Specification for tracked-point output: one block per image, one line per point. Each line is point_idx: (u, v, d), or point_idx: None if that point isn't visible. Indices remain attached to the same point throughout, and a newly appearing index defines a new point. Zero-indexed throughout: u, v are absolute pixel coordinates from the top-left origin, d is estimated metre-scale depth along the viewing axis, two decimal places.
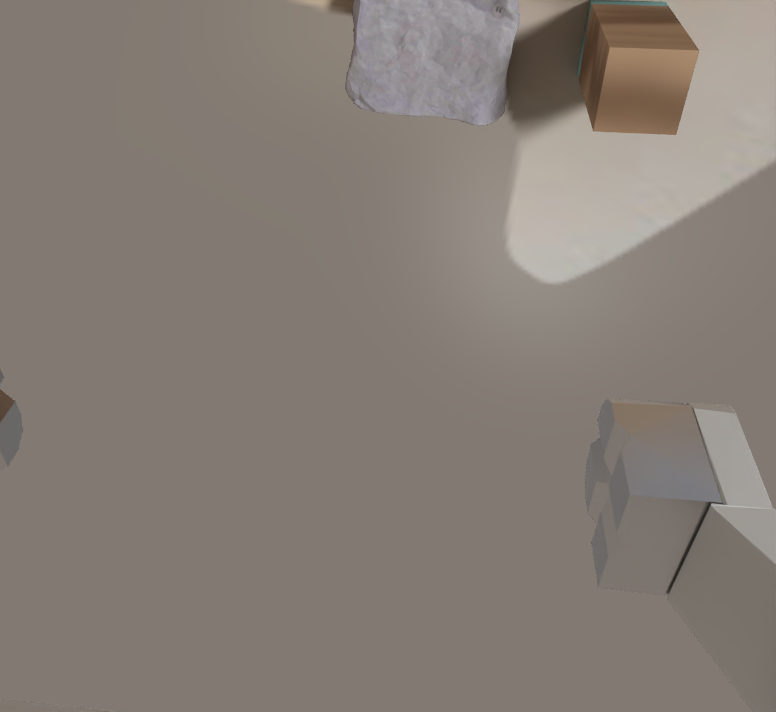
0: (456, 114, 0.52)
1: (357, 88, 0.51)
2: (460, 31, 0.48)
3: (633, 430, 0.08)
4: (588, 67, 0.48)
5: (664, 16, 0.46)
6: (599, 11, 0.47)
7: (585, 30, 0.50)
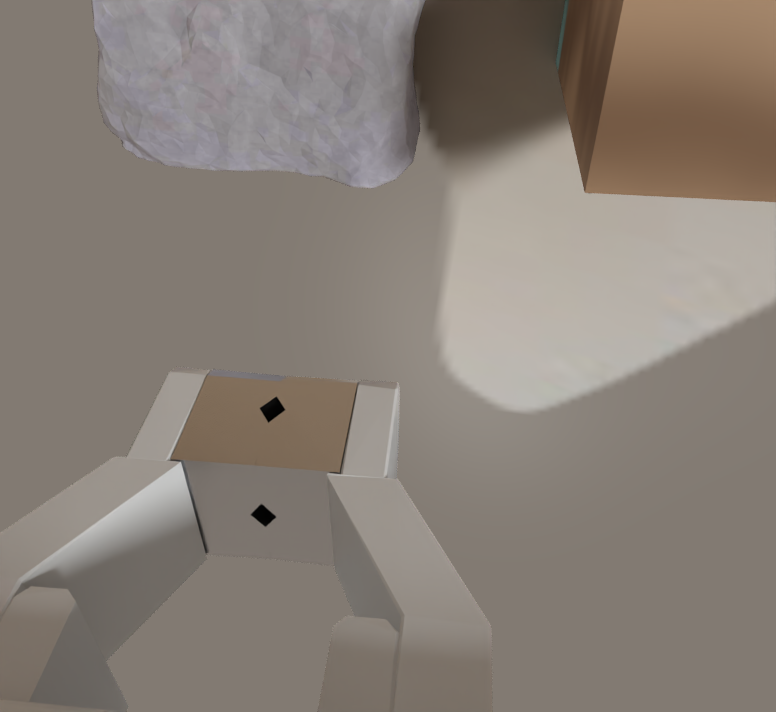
0: (319, 167, 0.27)
1: (119, 121, 0.26)
2: (304, 6, 0.23)
3: (291, 405, 0.09)
4: (575, 46, 0.22)
5: None
6: None
7: None
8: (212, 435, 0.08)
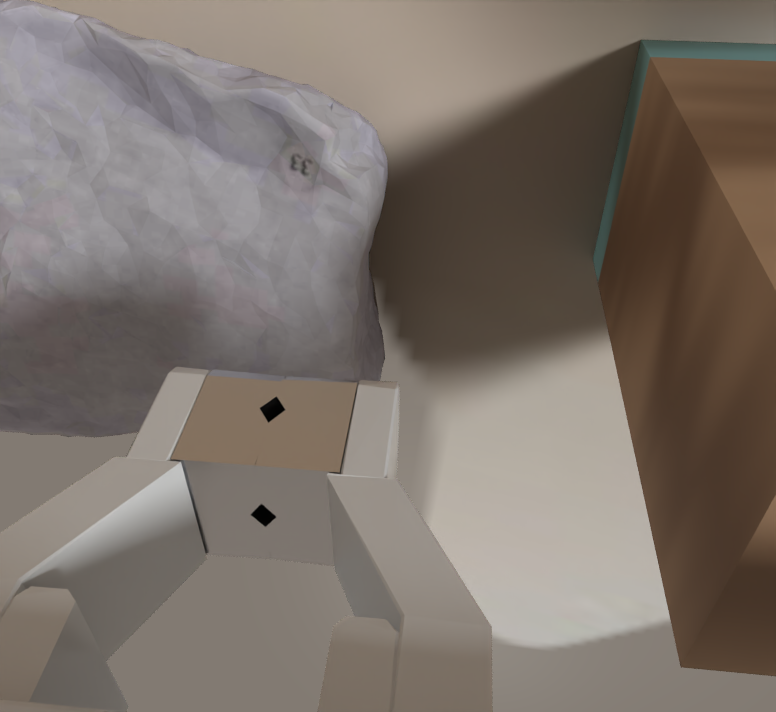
0: None
1: None
2: (180, 234, 0.14)
3: (291, 405, 0.09)
4: (640, 296, 0.13)
5: None
6: (686, 94, 0.12)
7: (622, 139, 0.15)
8: (212, 435, 0.08)
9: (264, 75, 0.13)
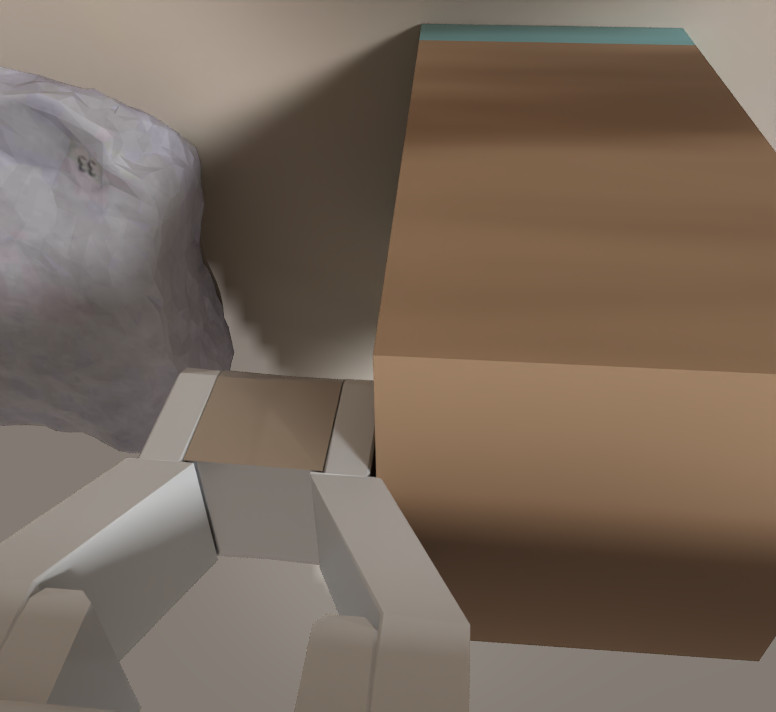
0: (74, 425, 0.19)
1: None
2: None
3: (276, 404, 0.09)
4: None
5: (684, 94, 0.11)
6: (430, 75, 0.12)
7: None
8: (225, 436, 0.08)
9: (45, 80, 0.14)
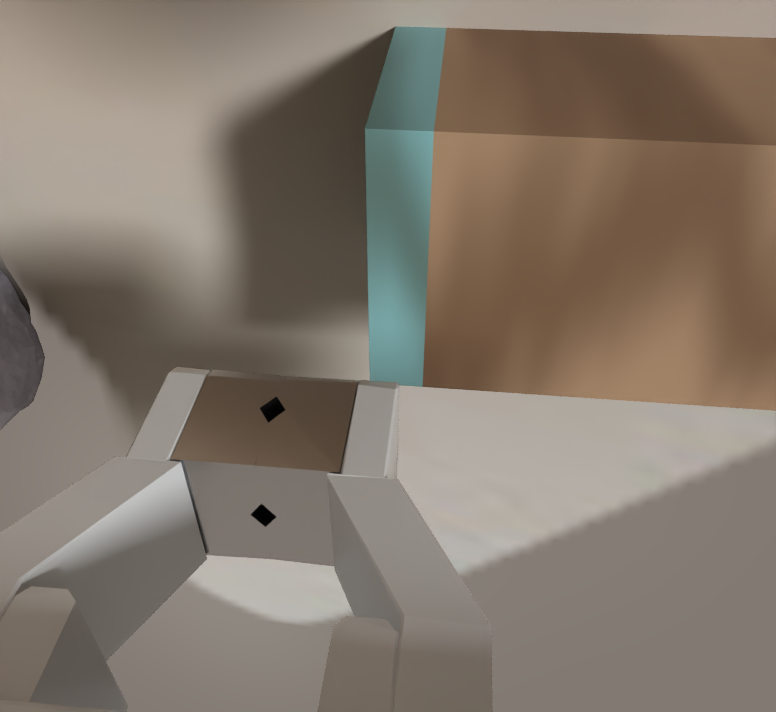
0: None
1: None
2: None
3: (291, 405, 0.09)
4: (614, 316, 0.12)
5: (574, 43, 0.13)
6: (561, 129, 0.10)
7: (382, 243, 0.12)
8: (212, 435, 0.08)
9: None
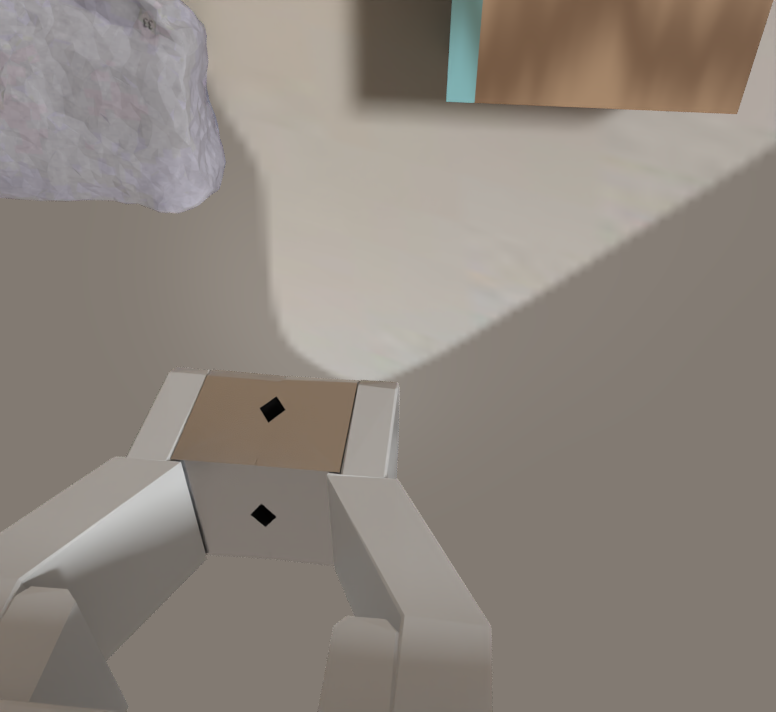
0: (131, 196, 0.32)
1: None
2: (91, 64, 0.28)
3: (291, 405, 0.09)
4: (574, 50, 0.24)
5: None
6: None
7: (459, 8, 0.24)
8: (212, 435, 0.08)
9: None
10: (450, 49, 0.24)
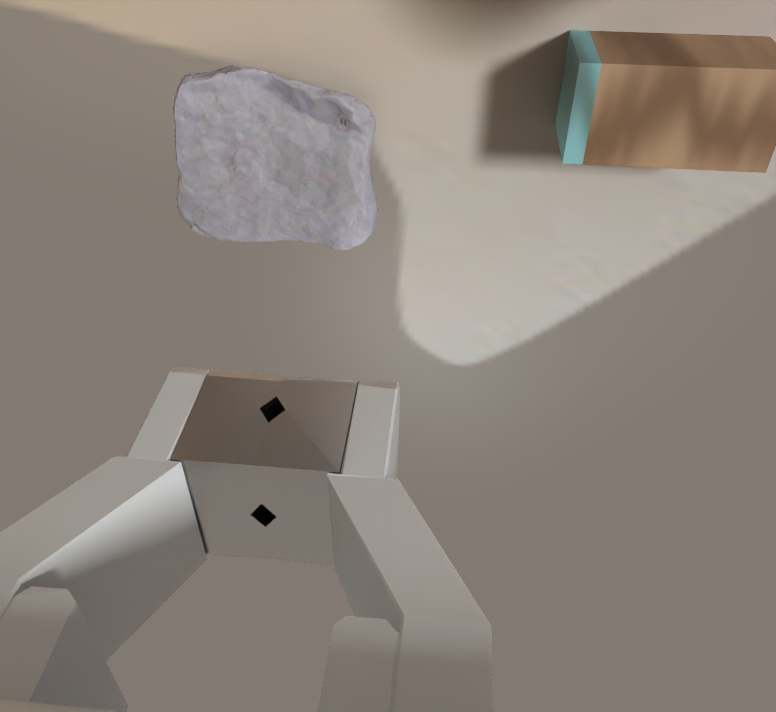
0: (313, 238, 0.43)
1: (190, 215, 0.42)
2: (300, 148, 0.40)
3: (291, 405, 0.09)
4: (655, 131, 0.35)
5: (639, 36, 0.36)
6: (641, 62, 0.33)
7: (577, 103, 0.35)
8: (212, 435, 0.08)
9: (331, 90, 0.39)
10: (569, 129, 0.36)
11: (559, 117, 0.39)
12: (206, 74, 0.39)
